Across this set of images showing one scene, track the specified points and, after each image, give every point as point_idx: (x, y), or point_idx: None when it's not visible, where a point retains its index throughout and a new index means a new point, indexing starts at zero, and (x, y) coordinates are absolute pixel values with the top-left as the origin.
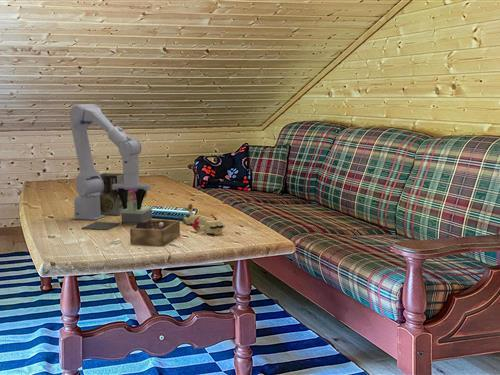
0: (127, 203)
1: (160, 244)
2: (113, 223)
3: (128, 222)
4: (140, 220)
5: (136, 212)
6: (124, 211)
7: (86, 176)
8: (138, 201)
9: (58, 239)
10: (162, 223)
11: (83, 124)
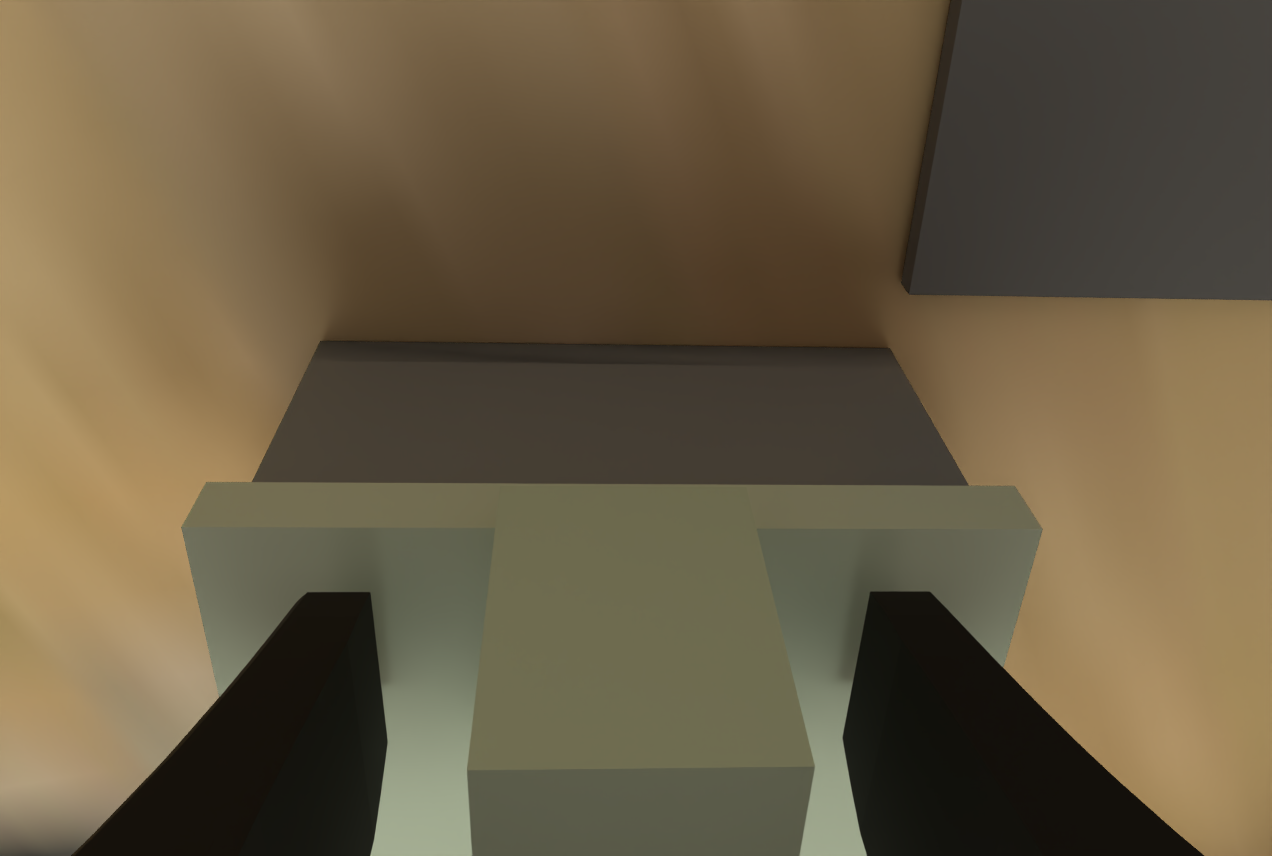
0: (776, 711)
1: None
2: (1089, 183)
3: (702, 361)
4: (329, 388)
5: (402, 507)
6: (873, 522)
7: None
8: (135, 839)
9: None
10: None
11: None
